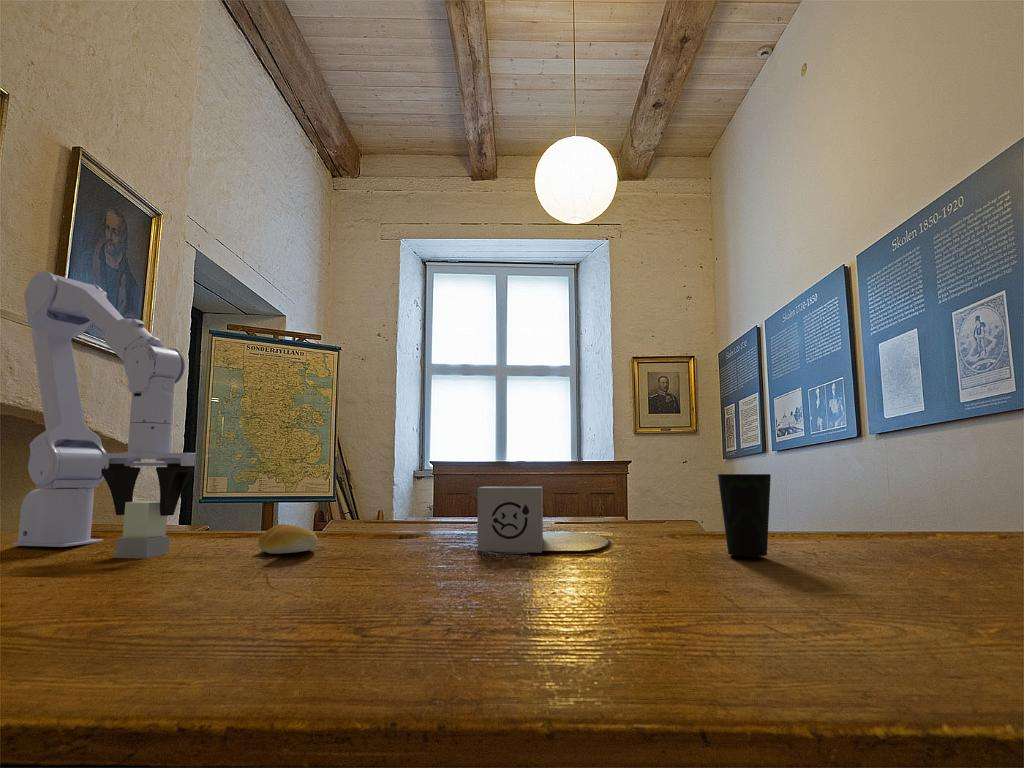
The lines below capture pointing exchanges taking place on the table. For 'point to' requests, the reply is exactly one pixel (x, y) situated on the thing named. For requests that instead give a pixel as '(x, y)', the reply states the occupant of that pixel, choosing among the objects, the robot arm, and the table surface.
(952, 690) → the table surface
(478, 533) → the icon cube
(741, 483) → the cup
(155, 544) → the grey block
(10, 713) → the table surface
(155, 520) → the sage block
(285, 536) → the bread roll
